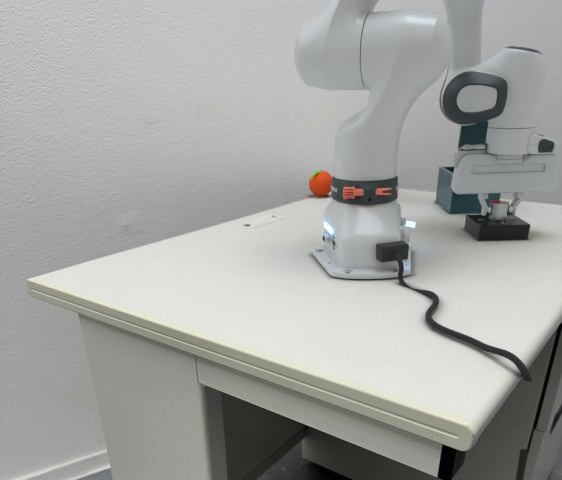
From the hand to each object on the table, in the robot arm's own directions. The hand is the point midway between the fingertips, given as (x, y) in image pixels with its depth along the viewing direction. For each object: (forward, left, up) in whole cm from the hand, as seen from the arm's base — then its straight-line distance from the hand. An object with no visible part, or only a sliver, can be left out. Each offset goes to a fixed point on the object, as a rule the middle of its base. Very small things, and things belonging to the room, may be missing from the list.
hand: (497, 215), depth 113 cm
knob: (0, 0, -1) cm, 1 cm away
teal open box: (+27, -1, -4) cm, 27 cm away
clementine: (+46, +35, -4) cm, 58 cm away
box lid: (+19, -1, +13) cm, 23 cm away
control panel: (0, 0, -4) cm, 4 cm away
